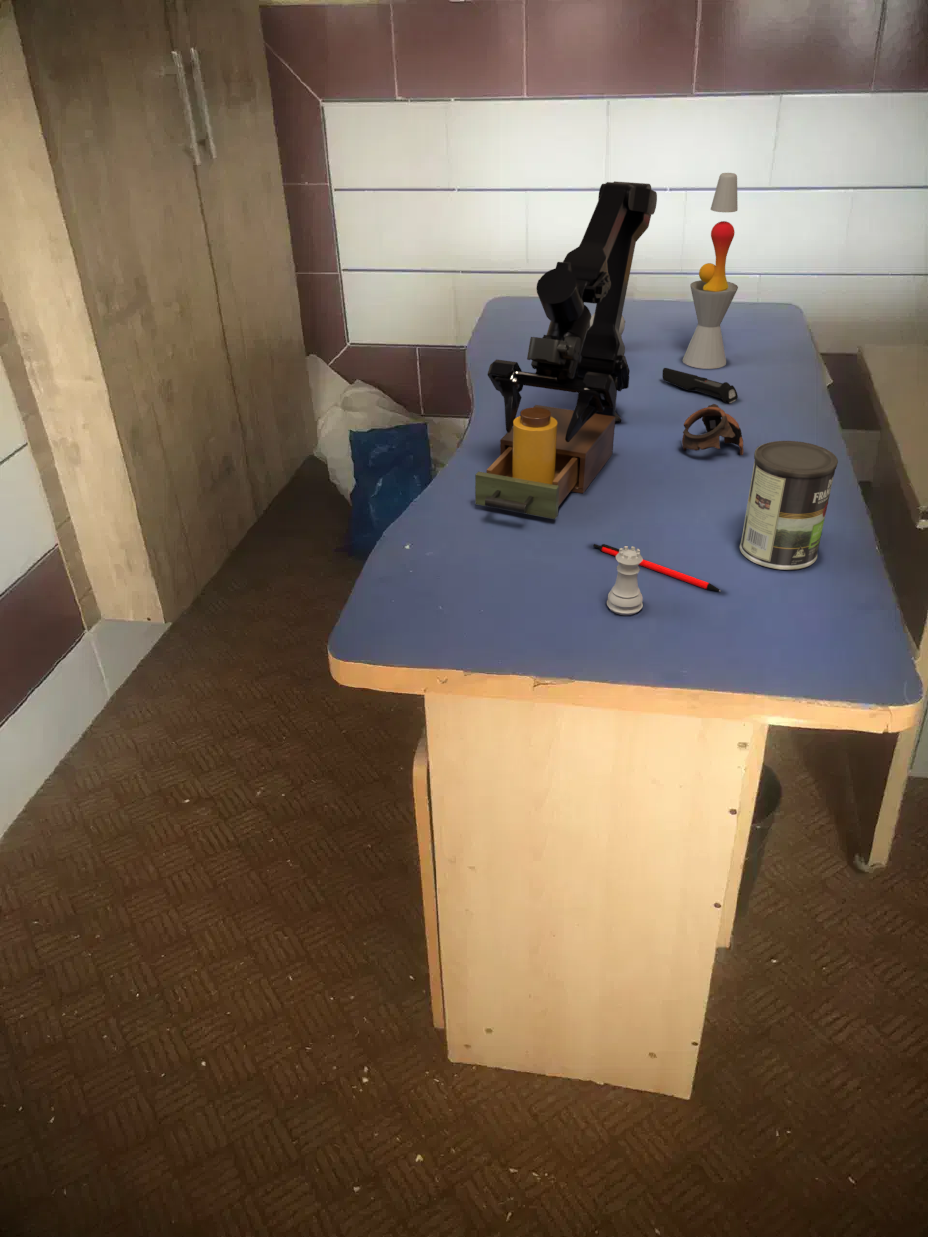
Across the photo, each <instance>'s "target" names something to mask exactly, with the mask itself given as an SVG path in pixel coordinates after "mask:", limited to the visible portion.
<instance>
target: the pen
mask: <svg viewBox="0 0 928 1237" xmlns="http://www.w3.org/2000/svg"><path fill="white" fill-rule="evenodd" d="M592 545H593V548H596V549H599V551H600V552H602V553H605V554H607V555H610V556H613V557H615V558H616V555H617V554H618V553H619V549H620V548H617V547H614V546H612V545H608V544H605V543H602V544H601V545H598V544H596V543H594V544H592ZM638 566H641V567H644V568H645V569H649V570H651V571H654V572H657V573H660V574H663V575H665V576H668V577H670V578H673V579H677V580H679V581H682V582H685V583H688V584H690V585H693V586H695V587H698V588H701V589H703V590H707V591H714V592H721V591H722V590H721V589H720V588H718V587H717V586H714V585H713V584H711V583H710V582H708V581H705V580H702V579H698V578H696V577H694V576H691V575H688V574H685V573H682V572H679V571H677V570H675V569H671V568H669V567H666V566H663V565H660V564H658V563H655V562H652V561H648V560H646V559H643V560H642V562H641V563H640V564H639V565H638Z"/></svg>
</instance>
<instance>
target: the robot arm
mask: <svg viewBox="0 0 928 1237" xmlns="http://www.w3.org/2000/svg"><path fill="white" fill-rule="evenodd" d="M597 200H598V201H597V203H596V206H595V207H594V211H593V213H592V214H591V218H590V220H589V223H588V225H587V227H586V229H585V231H584V234H583V236H582V239H581V241H580V244H579V245H578V246H577V247H576V248H574V249H572V250H571V251H569V252H568V253H567V254H566V255H565V257H564V259H563V261H557V262H556V265H555V268H553V269H549V270H548V271H546V272H545V273H544V274H542V276H541V277H540V278H539V279H538V280H537V283H536V294H537V296H538V299H539V301H540V304H541V306H542V309H543V311H544V314H545V316H546V318H547V319H548V320H549V321H550V322H549V325H548V329H547V332H546V334H543V336H542V337H538V336H530V339H529V345H528V351H527V357H526V360H527V361H531V364H530V366H531V368H532V369H534V370H535V372H527V371H522V369H521V367H520V365H519V362H518V361H511V360H504V359H497V358H496V359H495V360H494V361H492V362H491V363H490V365H489V367H488V371H487V374H486V375H487V376H488V378H489V380H490V382H491V383H492V385H493V387H494V388H495V390H496V391H498V392H499V393H500V394H501V396H502V397H503V402H504V421H505V431H506V433H510V431H511V429H512V428H513V421H514V419H515V418H517V414H518V412H519V407H520V404H521V401H522V395H521V393H520V392H522V391H523V389H524V386H527V387H533V388H539V389H547V390H554V391H560V392H562V391H563V392H567V393H568V392H569V393H576V394H577V400H576V404H575V407H574V412H573V415H572V418H571V420H570V423H569V426H568V429H567V433H566V437H565V440H566V442H569V441H570V440H571V439H572V438H573V437H574V435H575V434H576V433H577V432H578V431H579V430H580V428H581V427H582V426H583V425H584V424H585V423H586V422H587V421H588V420H589V419H590V418H591V417H592V416H593V415H594V414H601V415H608V416H614V417H615V424H619V423H622V418H621V416H620V415H618V413H617V412H616V409H617V397H618V392H622V391H623V390H627V389H629V387H630V366H629V363H628V361H627V357H626V355H625V354H626V353H625V352H626V346H625V343H624V341H623V336H622V335H620V332H619V328H620V323H621V318H622V316H623V313H624V312H623V311H624V307H625V302H626V301H625V300H626V297H627V290H628V285H629V280H630V276H631V270H632V264H633V258H634V254H635V249H636V244H637V243H636V242H638V241H639V239H640V238H641V237H642V236H643V234H644V233H646V231H647V230H648V229H649V226H650V222H651V218H652V215H654V214H655V213H656V209H657V203H658V193H657V191H656V190H653V189H652V185H651V183H643V182H629V181H612V182H611V181H606V182H605V183H602V184H601V185H600V187H599V190H598V198H597ZM585 303H586V304H595V310H594V313H595V315H594V320H593V324H592V326H591V327H590V320H591V316H592V313H591V311H590V309H589V307H588V306H587V305H586V304H585ZM588 328H589V329H588ZM621 336H622V337H621Z"/></svg>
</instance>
